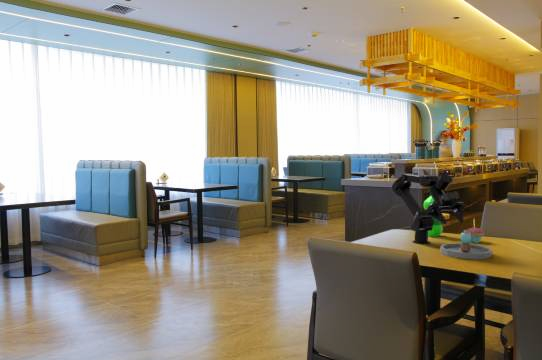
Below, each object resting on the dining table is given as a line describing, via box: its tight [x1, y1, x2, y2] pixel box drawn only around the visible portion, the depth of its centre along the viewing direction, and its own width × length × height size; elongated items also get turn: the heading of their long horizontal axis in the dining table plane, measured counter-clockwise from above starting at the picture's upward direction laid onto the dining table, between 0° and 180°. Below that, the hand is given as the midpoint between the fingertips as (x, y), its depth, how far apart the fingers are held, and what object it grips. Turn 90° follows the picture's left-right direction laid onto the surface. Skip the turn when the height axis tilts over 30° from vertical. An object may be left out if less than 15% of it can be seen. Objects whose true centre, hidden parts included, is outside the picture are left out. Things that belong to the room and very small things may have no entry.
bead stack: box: [459, 229, 472, 253], centre depth 199 cm, size 5×5×11 cm
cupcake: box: [466, 218, 485, 244], centre depth 230 cm, size 9×8×12 cm
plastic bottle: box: [423, 195, 444, 238], centre depth 245 cm, size 10×10×25 cm
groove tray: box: [439, 242, 493, 260], centre depth 204 cm, size 21×21×2 cm
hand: (454, 223), depth 205 cm, fingers open, 9 cm apart
